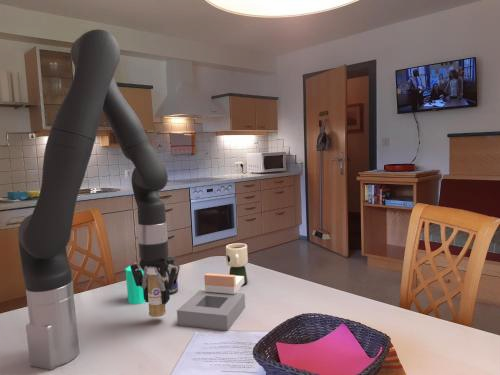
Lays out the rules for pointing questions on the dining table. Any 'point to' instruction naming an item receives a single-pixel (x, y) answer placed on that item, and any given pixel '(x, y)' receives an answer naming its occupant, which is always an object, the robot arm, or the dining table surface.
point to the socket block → (211, 310)
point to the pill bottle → (175, 288)
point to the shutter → (223, 283)
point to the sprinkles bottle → (154, 294)
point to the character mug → (237, 259)
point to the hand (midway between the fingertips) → (156, 301)
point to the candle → (134, 288)
